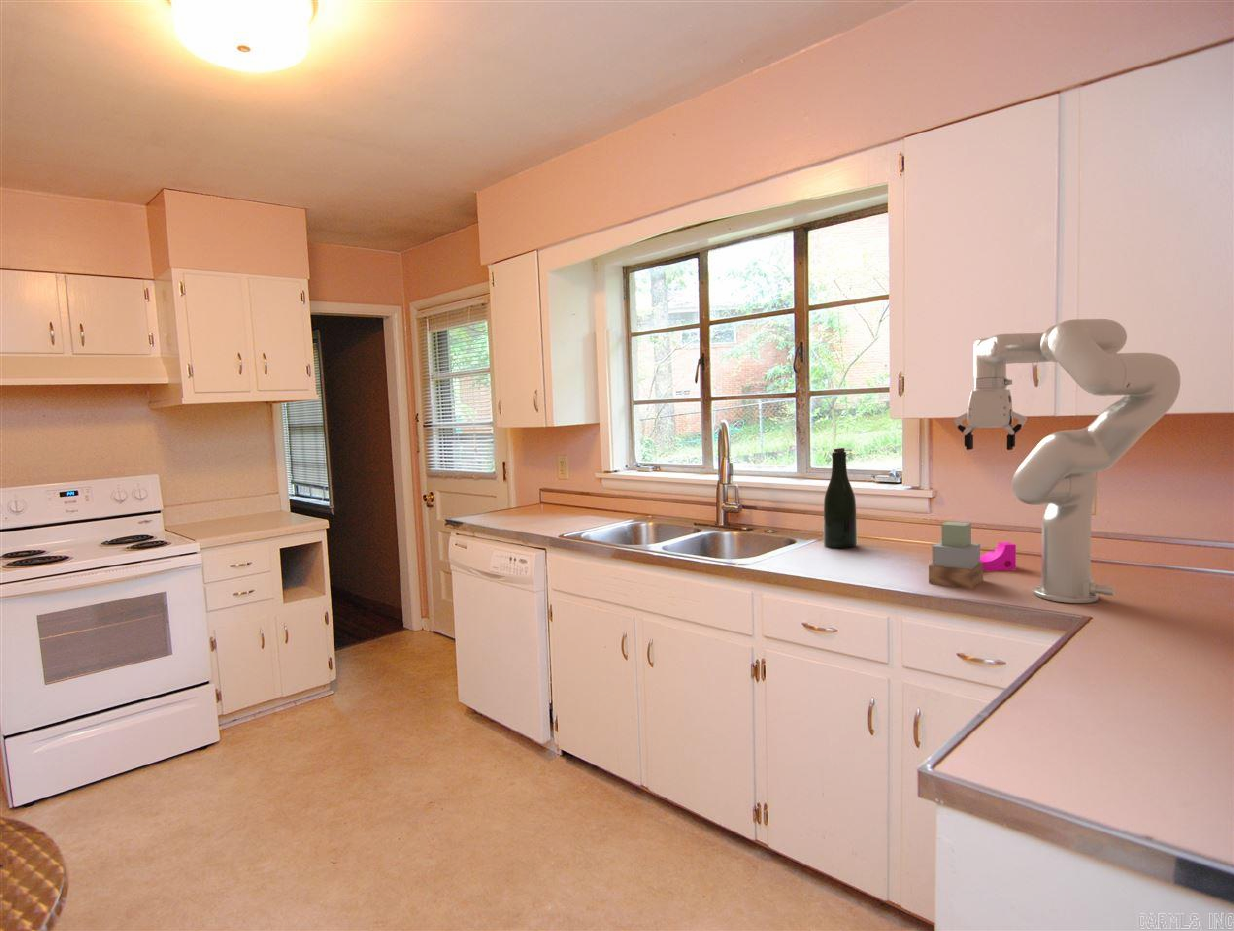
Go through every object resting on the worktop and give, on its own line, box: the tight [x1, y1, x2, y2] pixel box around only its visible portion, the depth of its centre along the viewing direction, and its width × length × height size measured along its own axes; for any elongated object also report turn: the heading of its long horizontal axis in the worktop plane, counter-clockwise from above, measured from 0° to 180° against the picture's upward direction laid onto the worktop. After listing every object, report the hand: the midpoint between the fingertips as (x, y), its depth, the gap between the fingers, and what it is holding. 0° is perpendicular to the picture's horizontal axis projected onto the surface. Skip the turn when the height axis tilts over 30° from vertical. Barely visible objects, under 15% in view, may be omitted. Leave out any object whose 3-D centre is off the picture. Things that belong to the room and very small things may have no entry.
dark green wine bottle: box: [823, 447, 858, 550], centre depth 219 cm, size 10×10×33 cm
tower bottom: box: [928, 562, 984, 590], centre depth 172 cm, size 10×10×5 cm
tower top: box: [932, 540, 981, 569], centre depth 171 cm, size 9×9×5 cm
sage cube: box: [940, 520, 972, 548], centre depth 171 cm, size 6×6×6 cm
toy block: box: [980, 541, 1017, 571], centre depth 184 cm, size 15×6×8 cm, turn 85°
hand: (989, 449), depth 178 cm, fingers open, 9 cm apart
